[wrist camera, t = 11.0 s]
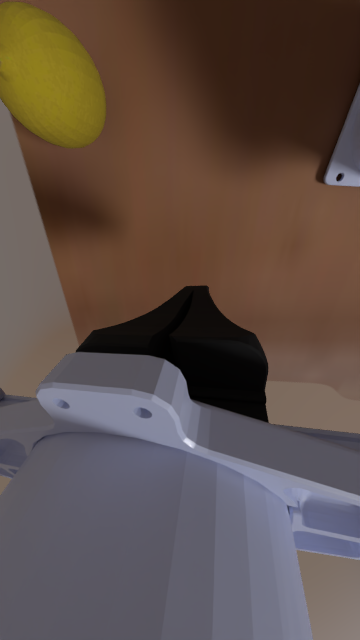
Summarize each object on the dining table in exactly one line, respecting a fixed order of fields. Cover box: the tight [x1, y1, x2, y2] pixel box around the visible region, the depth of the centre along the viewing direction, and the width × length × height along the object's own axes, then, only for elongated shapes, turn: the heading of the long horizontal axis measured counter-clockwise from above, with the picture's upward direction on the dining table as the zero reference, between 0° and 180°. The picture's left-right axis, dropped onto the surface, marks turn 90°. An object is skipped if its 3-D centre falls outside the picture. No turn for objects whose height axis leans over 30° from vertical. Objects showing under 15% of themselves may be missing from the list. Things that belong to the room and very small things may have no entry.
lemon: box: [0, 2, 106, 148], centre depth 13 cm, size 6×6×8 cm
